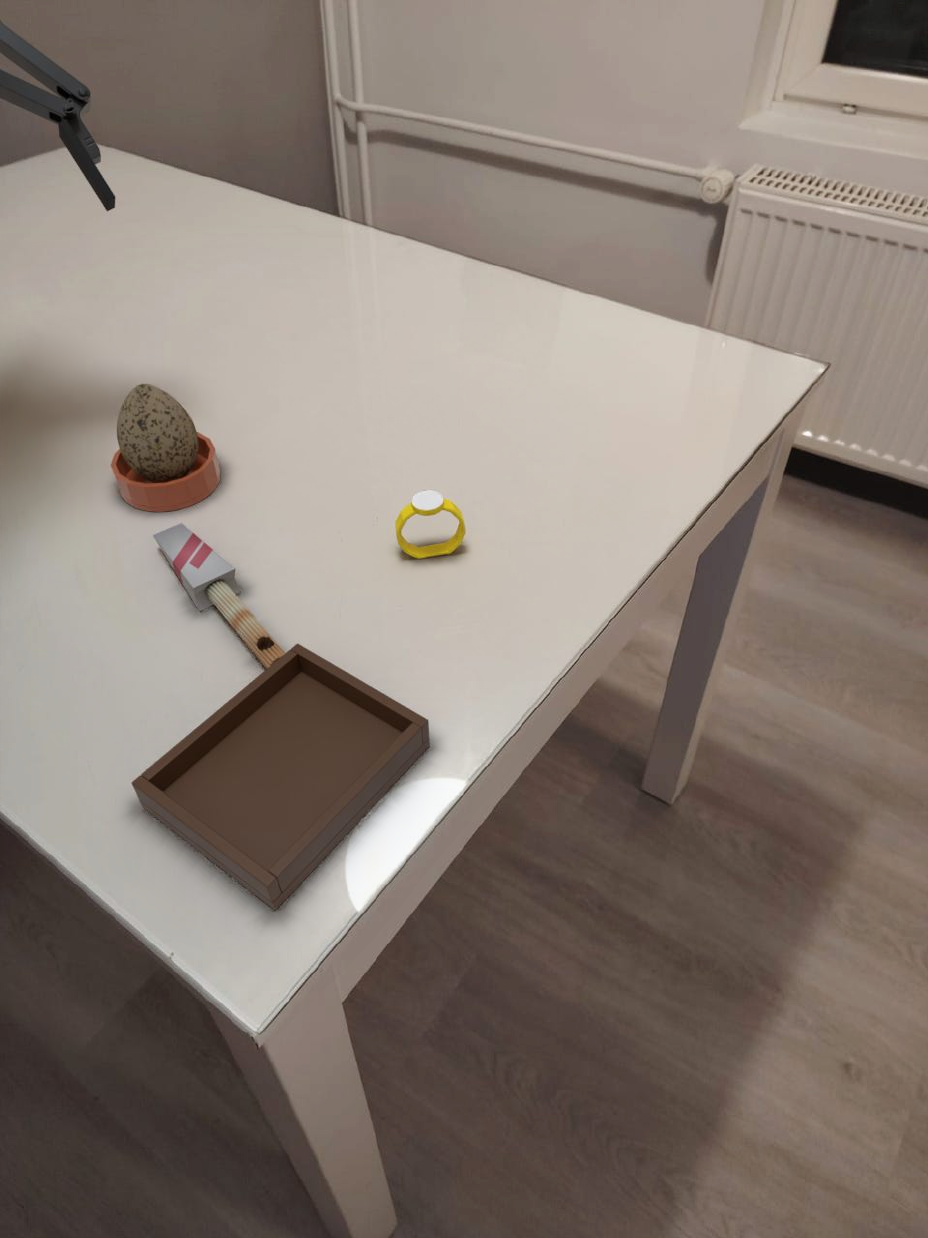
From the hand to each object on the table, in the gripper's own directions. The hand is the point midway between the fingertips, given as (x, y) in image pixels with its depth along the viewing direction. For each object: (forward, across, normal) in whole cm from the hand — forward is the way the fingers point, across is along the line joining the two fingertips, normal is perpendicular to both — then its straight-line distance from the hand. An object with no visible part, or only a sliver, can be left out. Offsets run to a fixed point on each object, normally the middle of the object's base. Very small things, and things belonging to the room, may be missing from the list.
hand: (38, 240), depth 71 cm
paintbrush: (+32, +5, +7) cm, 33 cm away
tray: (+43, +9, +23) cm, 49 cm away
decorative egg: (+21, +1, -8) cm, 23 cm away
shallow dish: (+22, +1, -9) cm, 23 cm away
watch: (+38, -12, +9) cm, 42 cm away
